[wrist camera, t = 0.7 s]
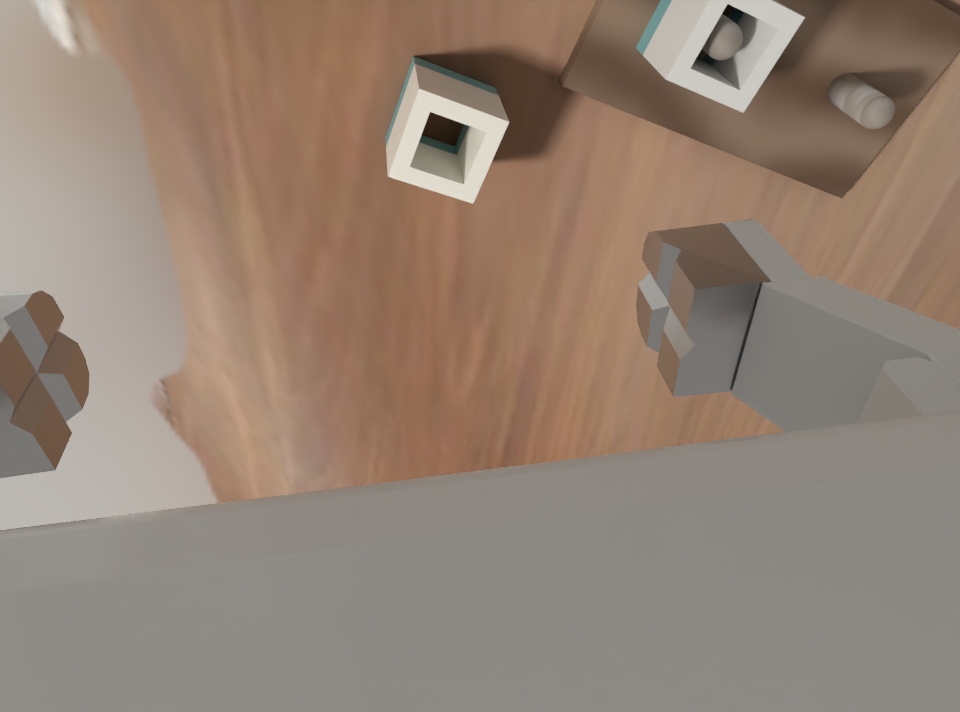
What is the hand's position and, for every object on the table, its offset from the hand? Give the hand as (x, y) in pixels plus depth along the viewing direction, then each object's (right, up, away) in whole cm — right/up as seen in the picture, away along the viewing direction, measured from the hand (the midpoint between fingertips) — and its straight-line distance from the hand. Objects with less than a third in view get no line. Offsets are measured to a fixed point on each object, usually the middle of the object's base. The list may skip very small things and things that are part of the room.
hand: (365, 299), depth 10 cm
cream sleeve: (-1, +16, +39) cm, 42 cm away
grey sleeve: (+16, +21, +36) cm, 44 cm away
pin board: (+22, +21, +39) cm, 49 cm away
